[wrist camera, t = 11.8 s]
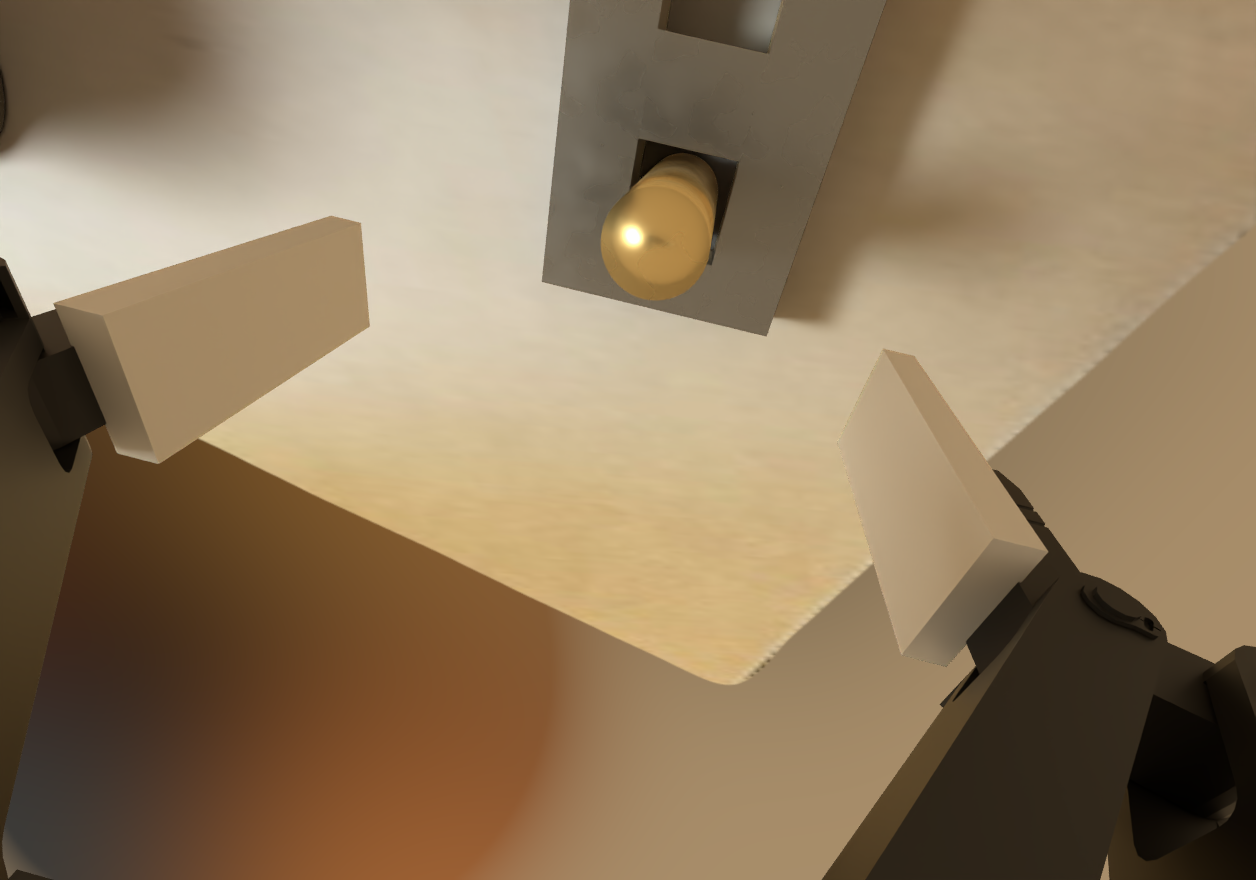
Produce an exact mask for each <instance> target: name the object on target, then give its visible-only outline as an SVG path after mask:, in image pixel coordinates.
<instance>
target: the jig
mask: <svg viewBox="0 0 1256 880" xmlns="http://www.w3.org/2000/svg"><path fill="white" fill-rule="evenodd" d="M671 1H672V0H570V7H569V17H568V27H567V37H566V47H565V57H564V67H563V77H562V87H561V97H560V107H559V117H558V127H557V137H556V147H555V157H554V167H553V177H552V187H551V197H550V207H549V217H548V227H547V237H546V247H545V257H544V267H543V276H542V282H545V283H549V284H553V285H557V286H561V287H565V288H569V289H573V290H578V291H582V292H586V293H590V294H594V295H598V296H602V297H606V298H611V299H615V300H619V301H623V302H627V303H631V304H635V305H639V306H643V307H648V308H652V309H656V310H660V311H664V312H668V313H672V314H676V315H680V316H685V317H689V318H693V319H697V320H701V321H705V322H709V323H713V324H717V325H722V326H726V327H730V328H734V329H738V330H742V331H746V332H750V333H754V334H759V335H763V336H767V333H768V330H769V328H770V325H771V322H772V319H773V316H774V314H775V311H776V308H777V305H778V302H779V300H780V297H781V294H782V291H783V288H784V286H785V283H786V280H787V277H788V274H789V272H790V269H791V266H792V263H793V260H794V258H795V255H796V252H797V249H798V246H799V244H800V241H801V238H802V235H803V232H804V230H805V227H806V224H807V221H808V218H809V216H810V213H811V210H812V207H813V205H814V202H815V199H816V196H817V193H818V191H819V188H820V185H821V182H822V179H823V177H824V174H825V171H826V168H827V165H828V163H829V160H830V157H831V154H832V151H833V149H834V146H835V143H836V140H837V137H838V135H839V132H840V129H841V126H842V123H843V121H844V118H845V115H846V112H847V109H848V107H849V104H850V101H851V98H852V95H853V93H854V90H855V87H856V84H857V81H858V79H859V76H860V73H861V70H862V67H863V65H864V62H865V59H866V56H867V53H868V51H869V48H870V45H871V42H872V39H873V37H874V34H875V31H876V28H877V25H878V23H879V20H880V17H881V14H882V11H883V9H884V6H885V3H886V0H781V4H780V8H779V11H778V15H777V19H776V23H775V26H774V30H773V34H772V37H771V41H770V45H769V48H768V52H767V53H762V52H758V51H753V50H749V49H744V48H740V47H736V46H731V45H727V44H722V43H718V42H714V41H709V40H705V39H700V38H696V37H691V36H687V35H683V34H678V33H674V32H669V31H666V28H667V23H668V17H669V12H670V6H671ZM646 140H649V141H653V142H657V143H661V144H666V145H670V146H674V147H679V148H683V149H687V150H691V151H696V152H700V153H704V154H709V155H713V156H717V157H721V158H726V159H730V160H734V161H738V162H737V166H736V170H735V173H734V177H733V181H732V184H731V188H730V192H729V195H728V199H727V203H726V206H725V210H724V214H723V217H722V221H721V225H720V228H719V232H718V236H717V239H716V243H715V247H714V250H710V253H709V258H708V262H707V265H706V267H705V269H704V271H703V273H702V275H701V276H700V278H699V279H698V280H697V282H696V283H695V284H694V285H693V286H692V287H691V288H689V289H688V290H687V291H685V292H684V293H682V294H680V295H678V296H676V297H673V298H670V299H666V300H646V299H642V298H639V297H636V296H634V295H632V294H630V293H628V292H627V291H625V290H624V289H622V288H621V287H620V286H619V285H618V284H617V283H616V282H615V281H614V280H613V278H612V277H611V276H610V274H609V272H608V270H607V268H606V266H605V264H604V261H603V257H602V252H601V233H602V229H603V225H604V222H605V219H606V217H607V215H608V214H609V212H610V210H611V209H612V208H613V206H614V205H615V204H616V203H617V202H618V201H619V200H620V199H621V198H622V197H623V196H624V195H625V194H626V193H627V192H628V191H629V190H630V189H631V188H632V187H633V186H634V185H635V184H637V183H638V182H639V176H640V171H641V165H642V160H643V154H644V149H645V143H646Z"/></svg>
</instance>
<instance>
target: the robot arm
mask: <svg viewBox="0 0 1256 880" xmlns="http://www.w3.org/2000/svg"><path fill="white" fill-rule="evenodd" d="M4 110H5V105H4V93H3V86H2V81H1V77H0V132H1V129H2V126H3V121H4ZM53 304H54V306H55V308H56V309H55V310H52V311H48V312H45V313H42V314H39V315H36V316H33V317H31V315H30V313H29V311H28V309H27V307H26V305H25V302H24V300H23V298H22V296H21V294H20V291H19V289H18V287H17V285H16V283H15V280H14V278H13V276H12V274H11V272H10V270H9V267H8V265H7V263H6V261H5V260H4V259H2V258H0V880H52V879H48V878H45V877H41V876H38V875H34V874H31V873H27V872H23V871H20V870H16V871H15V872H14V873H13V875H12V876H11V877H10V878H9V879H8V876H7V871H6V868H5V864H4V860H3V852H2V838H3V832H4V826H5V822H6V817H7V813H8V809H9V805H10V800H11V796H12V792H13V788H14V783H15V779H16V775H17V770H18V767H19V762H20V758H21V754H22V749H23V745H24V741H25V737H26V733H27V729H28V724H29V720H30V716H31V711H32V707H33V703H34V699H35V695H36V690H37V686H38V682H39V678H40V673H41V669H42V665H43V661H44V657H45V652H46V648H47V644H48V640H49V635H50V631H51V627H52V623H53V618H54V614H55V610H56V606H57V602H58V597H59V593H60V589H61V585H62V581H63V576H64V572H65V568H66V564H67V559H68V555H69V551H70V547H71V542H72V538H73V534H74V530H75V526H76V521H77V517H78V513H79V509H80V504H81V500H82V496H83V492H84V487H85V483H86V479H87V475H88V471H89V466H90V462H91V458H92V452H91V447H90V445H89V443H88V441H87V438H86V436H85V435H86V434H88V433H90V432H91V431H93V430H95V429H97V428H99V427H101V426H103V425H105V426H106V428H107V430H108V433H109V435H110V437H111V440H112V442H113V444H114V447H115V449H116V452H117V453H118V454H122V455H126V456H130V457H134V458H138V459H142V460H145V461H149V462H153V463H158V464H159V463H161V462H162V461H164V460H166V459H167V458H169V457H170V456H172V455H173V454H174V453H176V452H178V451H179V450H181V449H182V448H184V447H185V446H187V445H188V444H190V443H192V442H193V441H194V440H196V439H198V438H199V437H201V436H202V435H204V434H205V433H207V432H208V431H210V430H211V429H213V428H215V427H216V426H218V425H219V424H221V423H222V422H224V421H225V420H227V419H228V418H230V417H231V416H233V415H234V414H236V413H238V412H239V411H241V410H242V409H244V408H245V407H247V406H248V405H250V404H251V403H253V402H254V401H256V400H257V399H259V398H261V397H262V396H264V395H265V394H267V393H268V392H270V391H271V390H273V389H274V388H276V387H277V386H279V385H280V384H282V383H284V382H285V381H287V380H288V379H290V378H291V377H293V376H294V375H296V374H297V373H299V372H300V371H302V370H303V369H305V368H306V367H308V366H310V365H311V364H313V363H314V362H316V361H317V360H319V359H320V358H322V357H323V356H325V355H326V354H328V353H329V352H331V351H333V350H334V349H336V348H337V347H339V346H340V345H342V344H343V343H345V342H346V341H348V340H349V339H351V338H352V337H354V336H356V335H357V334H359V333H360V332H362V331H363V330H365V329H366V328H368V327H369V326H370V324H369V313H368V301H367V289H366V278H365V266H364V255H363V243H362V232H361V223H359V222H355V221H350V220H346V219H342V218H338V217H334V216H329V217H326V218H323V219H320V220H316V221H313V222H310V223H307V224H304V225H301V226H297V227H294V228H291V229H288V230H285V231H281V232H278V233H275V234H272V235H269V236H266V237H262V238H259V239H256V240H253V241H250V242H246V243H243V244H240V245H237V246H234V247H231V248H227V249H224V250H221V251H218V252H215V253H211V254H208V255H205V256H202V257H199V258H196V259H192V260H189V261H186V262H183V263H180V264H176V265H173V266H170V267H167V268H164V269H161V270H157V271H154V272H151V273H148V274H145V275H141V276H138V277H135V278H132V279H129V280H126V281H122V282H119V283H116V284H113V285H110V286H107V287H103V288H100V289H97V290H94V291H91V292H87V293H84V294H81V295H78V296H75V297H72V298H68V299H65V300H62V301H59V302H56V303H53ZM837 442H838V446H839V449H840V452H841V456H842V459H843V463H844V466H845V469H846V473H847V476H848V479H849V483H850V486H851V489H852V493H853V496H854V499H855V503H856V506H857V509H858V513H859V516H860V519H861V523H862V526H863V529H864V533H865V536H866V539H867V543H868V546H869V549H870V553H871V556H872V559H873V563H874V566H875V569H876V573H877V576H878V579H879V583H880V586H881V590H882V593H883V596H884V600H885V603H886V606H887V609H888V613H889V616H890V620H891V623H892V626H893V629H894V633H895V636H896V640H897V643H898V646H899V650H900V653H901V655H902V656H906V657H910V658H914V659H918V660H922V661H926V662H929V663H933V664H937V665H941V666H945V667H947V666H948V664H949V663H950V662H951V661H952V660H953V659H954V658H955V657H956V656H957V654H958V653H959V652H960V651H961V650H962V649H963V648H964V647H965V645H966V644H967V646H968V648H969V650H970V653H971V655H972V658H973V660H974V662H975V665H976V666H975V668H974V669H973V670H972V671H971V672H970V673H969V674H968V675H967V676H966V677H965V678H964V679H963V680H962V681H961V682H960V683H959V685H958V686H957V687H956V688H955V689H954V690H953V691H952V692H951V693H950V694H949V695H948V696H947V697H946V698H945V699H944V701H943V702H942V703H941V704H940V705H941V706H942V707H943V709H942V710H941V712H940V713H939V715H938V716H937V717H936V719H935V720H934V722H933V723H932V724H931V726H930V727H929V729H928V730H927V732H926V733H925V734H924V736H923V737H922V739H921V740H920V741H919V743H918V744H917V746H916V747H915V748H914V750H913V751H912V753H911V754H910V756H909V757H908V758H907V760H906V761H905V763H904V764H903V765H902V767H901V768H900V770H899V771H898V773H897V774H896V775H895V777H894V778H893V780H892V781H891V783H890V784H889V785H888V787H887V788H886V790H885V791H884V792H883V794H882V795H881V797H880V798H879V799H878V801H877V802H876V804H875V805H874V807H873V808H872V809H871V811H870V812H869V814H868V815H867V816H866V818H865V819H864V821H863V822H862V823H861V825H860V826H859V828H858V829H857V831H856V832H855V833H854V835H853V836H852V838H851V839H850V841H849V842H848V843H847V845H846V846H845V848H844V849H843V851H842V852H841V853H840V855H839V856H838V858H837V859H836V860H835V862H834V863H833V865H832V866H831V867H830V869H829V870H828V872H827V873H826V875H825V876H824V877H823V879H822V880H1100V878H1101V874H1102V871H1103V868H1104V864H1105V861H1106V857H1107V854H1108V864H1109V878H1110V880H1256V647H1251V646H1245V645H1244V646H1241V647H1239V648H1237V649H1235V650H1233V651H1232V652H1231V653H1229V654H1228V655H1226V656H1225V657H1224V658H1222V659H1221V660H1220V661H1218V662H1217V663H1216V664H1214V663H1212V662H1210V661H1208V660H1206V659H1203V658H1201V657H1199V656H1197V655H1194V654H1192V653H1190V652H1188V651H1185V650H1183V649H1181V648H1179V647H1177V646H1174V645H1172V644H1170V643H1168V642H1167V636H1166V631H1165V630H1164V628H1163V627H1162V625H1161V624H1160V623H1159V621H1158V620H1157V618H1156V617H1155V616H1154V615H1153V614H1152V613H1151V612H1150V611H1149V610H1148V609H1146V608H1145V607H1144V606H1143V605H1142V604H1141V603H1140V602H1139V601H1137V600H1136V599H1134V598H1133V597H1132V596H1130V595H1129V594H1127V593H1126V592H1124V591H1123V590H1121V589H1120V588H1118V587H1116V586H1114V585H1112V584H1110V583H1108V582H1106V581H1104V580H1102V579H1101V578H1098V577H1094V576H1091V575H1088V574H1085V573H1081V572H1079V570H1078V569H1077V567H1076V566H1075V565H1074V563H1073V562H1072V560H1071V559H1070V558H1069V556H1068V555H1067V554H1066V552H1065V551H1064V549H1063V548H1062V547H1061V545H1060V544H1059V543H1058V541H1057V540H1056V538H1055V537H1054V536H1053V534H1052V533H1051V531H1050V530H1049V529H1048V528H1046V527H1044V525H1045V523H1044V522H1043V520H1042V519H1041V517H1040V516H1039V515H1038V513H1037V512H1034V511H1033V509H1034V508H1033V506H1032V505H1031V504H1030V502H1029V501H1028V499H1027V498H1026V497H1025V495H1024V494H1023V493H1022V491H1021V490H1020V489H1019V488H1018V487H1017V486H1016V485H1014V484H1013V483H1012V482H1011V481H1010V480H1008V479H1007V478H1006V477H1005V476H1004V475H1003V474H1001V473H1000V472H999V471H997V470H993V469H991V467H990V466H989V464H988V463H987V461H986V460H985V458H984V457H983V455H982V454H981V453H980V451H979V450H978V448H977V447H976V445H975V444H974V442H973V441H972V439H971V438H970V437H969V435H968V434H967V432H966V431H965V429H964V428H963V426H962V425H961V423H960V422H959V420H958V419H957V418H956V416H955V415H954V413H953V412H952V410H951V409H950V407H949V406H948V404H947V403H946V401H945V400H944V399H943V397H942V396H941V394H940V393H939V391H938V390H937V388H936V387H935V385H934V384H933V383H932V381H931V380H930V378H929V377H928V375H927V374H926V372H925V371H924V369H923V368H922V366H921V365H920V364H919V362H918V361H917V359H916V358H915V356H911V355H907V354H903V353H899V352H895V351H890V350H886V349H883V350H882V352H881V354H880V356H879V358H878V360H877V362H876V364H875V366H874V368H873V370H872V372H871V374H870V376H869V378H868V380H867V382H866V384H865V386H864V388H863V390H862V392H861V394H860V396H859V399H858V401H857V403H856V405H855V407H854V409H853V411H852V413H851V415H850V417H849V419H848V421H847V423H846V425H845V427H844V429H843V431H842V433H841V435H840V437H839V439H838V441H837Z"/></svg>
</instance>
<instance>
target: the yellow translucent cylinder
mask: <svg viewBox="0 0 1256 880" xmlns="http://www.w3.org/2000/svg"><path fill="white" fill-rule="evenodd" d="M717 201H718V184H717V180H716V177H715V174H714V172H713V171H712V169H711V167H710V166H709V165H708V164H707V163H706V162H705V161H704V160H702V159H701V158H699V157H697V156H695V155H692V154H688V153H677V154H673V155H670V156H667V157H665V158H664V159H662V160H661V161H660V162H658V163H657V164H656V165H655V166H654V167H653V168H652V169H651V170H650V171H649V172H648V173H647V174H646V175H645V176H644V177H643V178H642V179H641V180H640V181H639V182H638V183H637V184H635V185H634V186H633V187H632V188H631V189H630V190H629V191H628V192H627V193H626V194H625V195H624V196H623V197H622V198H621V199H620V200H619V201H618V202H617V203H616V204H615V205H614V206H613V208H612V209H611V210H610V212H609V214H608V215H607V217H606V219H605V222H604V225H603V229H602V233H601V252H602V257H603V261H604V264H605V266H606V268H607V270H608V272H609V274H610V276H611V277H612V278H613V280H614V281H615V282H616V283H617V284H618V285H619V286H620V287H621V288H622V289H624V290H625V291H627V292H628V293H630V294H632V295H634V296H636V297H639V298H642V299H646V300H666V299H670V298H673V297H676V296H678V295H680V294H682V293H684V292H685V291H687V290H688V289H689V288H691V287H692V286H693V285H694V284H695V283H696V282H697V280H698V279H699V278H700V276H701V275H702V273H703V271H704V269H705V267H706V265H707V262H708V258H709V253H710V247H711V240H712V234H713V227H714V220H715V214H716V207H717Z"/></svg>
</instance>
